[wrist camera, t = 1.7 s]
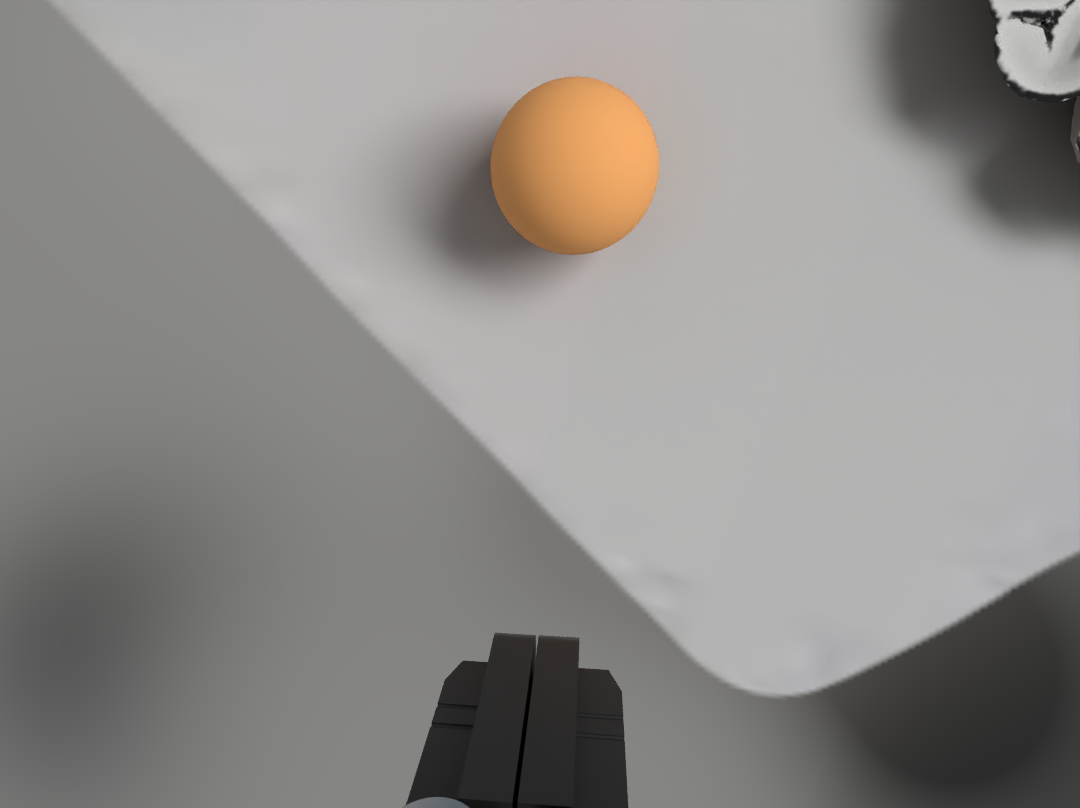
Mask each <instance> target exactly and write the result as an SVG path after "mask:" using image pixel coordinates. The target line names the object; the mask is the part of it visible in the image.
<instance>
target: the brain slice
mask: <svg viewBox="0 0 1080 808" xmlns="http://www.w3.org/2000/svg"><path fill="white" fill-rule="evenodd" d="M988 2H989V8H990V13H991V14H992V16H993V18H994V19H995V21H996V22H997V26H996V32H995V38H994V44H995V56H996V61H997V64H998V66H999V69H1000V71H1001V73H1002V76H1003V78H1004V81H1005V83H1006V84H1007V85H1008V86H1009V87H1010V88H1011V89H1012V90H1013V91H1014V92H1015V93H1016V94H1017V95H1018V96H1021V97H1024V98H1028V99H1031V100H1038V101H1047V102H1056V103H1058V102H1061V101H1065V100H1068V99H1071V98H1074V97H1076V101H1075V105H1074V112H1073V117H1072V126H1071V135H1070V140H1071V143H1072V146H1073V149H1074V152H1075V156H1076V159H1077V161H1078V162H1079V163H1080V0H988Z"/></svg>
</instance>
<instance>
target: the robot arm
mask: <svg viewBox="0 0 1080 808" xmlns="http://www.w3.org/2000/svg"><path fill="white" fill-rule="evenodd" d="M578 657H579V638H574V637H557V636H542V635H539V638H538V645H537V653H536V635H523V634H522V635H521V634H507V633H495V635H494V638H493V643H492V647H491V651H490V656H489V660H488V662H475V661H463V662H461V663H460V664H459V665H458V667H457V668H456V669H455V670H454V671H453V672H452V673H451V674H450V675H449V676H448V677H447V678H446V679H445V681H444V685H443V688H442V691H441V694H440V698H439V701H438V707H437V708H436V710H435V714H434V717H433V720H432V726H431V727H430V730H429V733H428V737H427V740H426V743H425V746H424V749H423V752H422V756H421V759H420V762H419V765H418V769H417V772H416V775H415V778H414V782H413V785H412V788H411V791H410V795H409V798H408V801H407V803H406V806H404V807H402V808H628V795H627V777H626V760H625V742H624V724H623V705H622V691H621V690H620V688H619V686H618V685H617V683H616V681H615V680H614V678H613V677H612V675H611V674H610V672H609V670H600V669H584V668H578V661H579V658H578Z"/></svg>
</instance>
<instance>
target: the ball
mask: <svg viewBox="0 0 1080 808" xmlns="http://www.w3.org/2000/svg"><path fill="white" fill-rule="evenodd" d="M490 168H491V181H492V186H493V191H494V194H495V197H496V200H497V203H498V205H499V207H500V209H501V211H502V213H503V214H504V216H505V217H506V219H507V221H508V222H509V223H510V224H511V225H512V227H513V228H514V229H515V230H516V231H517V232H518V233H519V234H520V235H521V236H523V237H524V238H525V239H527V240H528V241H529V242H531V243H533V244H535V245H536V246H538V247H540V248H543V249H545V250H548V251H551V252H555V253H560V254H569V255H577V254H586V253H592V252H595V251H599V250H602V249H604V248H606V247H609V246H611V245H613V244H614V243H616V242H618V241H619V240H621V239H622V238H623V237H625V236H626V235H627V234H628V233H629V232H631V230H632V229H633V228H634V227H635V226H636V225H637V224H638V223H639V221H640V220H641V219H642V217H643V216H644V215H645V213H646V211H647V209H648V207H649V205H650V203H651V201H652V198H653V196H654V193H655V189H656V186H657V181H658V174H659V155H658V147H657V143H656V139H655V135H654V133H653V130H652V128H651V125H650V123H649V122H648V120H647V118H646V116H645V114H644V113H643V112H642V110H641V109H640V108H639V106H638V105H637V104H636V103H635V102H634V101H633V100H632V99H631V98H630V97H629V96H628V95H626V94H625V93H624V92H622V91H621V90H619V89H618V88H616V87H614V86H612V85H610V84H608V83H605V82H603V81H600V80H596V79H592V78H586V77H565V78H560V79H556V80H552V81H550V82H547V83H544V84H542V85H540V86H538V87H536V88H534V89H533V90H531V91H530V92H528V93H527V94H526V95H524V96H523V97H522V98H521V99H520V100H519V101H518V102H517V103H516V104H515V105H514V106H513V107H512V108H511V110H510V111H509V112H508V113H507V115H506V117H505V118H504V120H503V121H502V123H501V125H500V127H499V130H498V132H497V134H496V137H495V141H494V144H493V149H492V154H491V167H490Z"/></svg>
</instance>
